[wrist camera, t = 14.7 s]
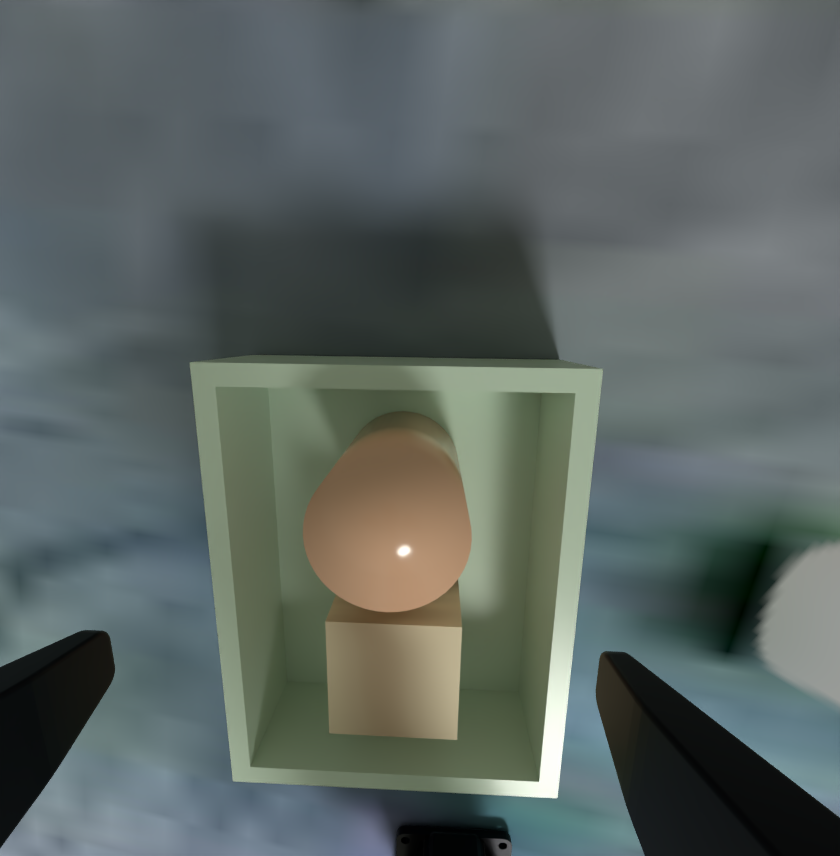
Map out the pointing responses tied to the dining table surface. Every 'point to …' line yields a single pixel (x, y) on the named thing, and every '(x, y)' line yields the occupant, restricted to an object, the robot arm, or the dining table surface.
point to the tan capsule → (391, 516)
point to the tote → (478, 584)
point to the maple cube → (395, 669)
